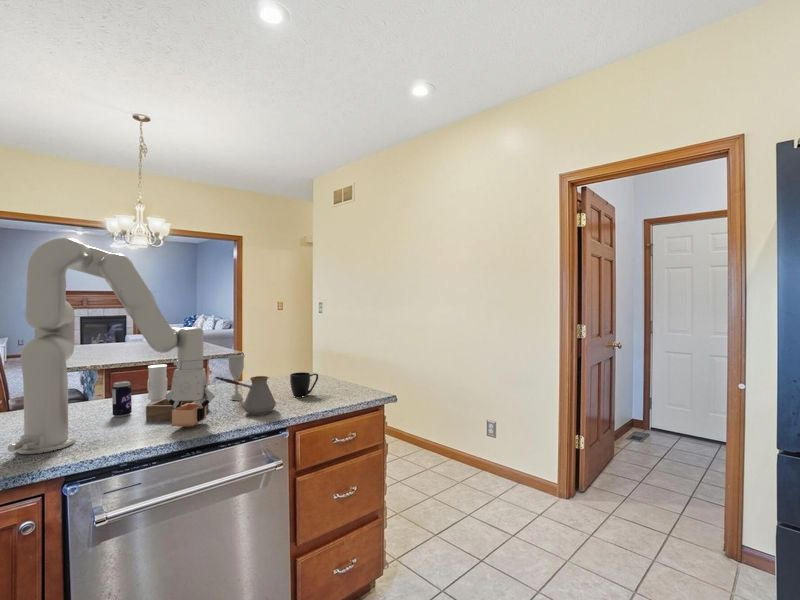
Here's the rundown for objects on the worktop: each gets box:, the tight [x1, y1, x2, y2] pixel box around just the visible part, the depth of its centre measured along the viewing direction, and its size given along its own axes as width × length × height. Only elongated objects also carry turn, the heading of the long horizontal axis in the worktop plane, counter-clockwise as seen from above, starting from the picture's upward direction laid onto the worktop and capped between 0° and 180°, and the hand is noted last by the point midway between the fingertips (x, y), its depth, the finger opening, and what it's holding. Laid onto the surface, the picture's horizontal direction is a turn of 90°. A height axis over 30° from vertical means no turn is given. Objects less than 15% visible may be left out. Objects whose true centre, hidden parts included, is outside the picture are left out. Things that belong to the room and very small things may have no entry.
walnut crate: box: [145, 396, 209, 421], centre depth 148 cm, size 15×15×5 cm
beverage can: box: [111, 380, 133, 418], centre depth 147 cm, size 6×6×12 cm
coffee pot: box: [212, 375, 277, 416], centre depth 146 cm, size 21×12×15 cm, turn 126°
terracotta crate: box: [171, 403, 207, 427], centre depth 133 cm, size 9×6×5 cm
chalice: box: [227, 354, 246, 401], centre depth 169 cm, size 7×7×18 cm
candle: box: [147, 364, 168, 405], centre depth 165 cm, size 7×7×15 cm
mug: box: [289, 371, 319, 398], centre depth 175 cm, size 8×12×10 cm
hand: (189, 419), depth 133 cm, fingers closed on terracotta crate, 6 cm apart
